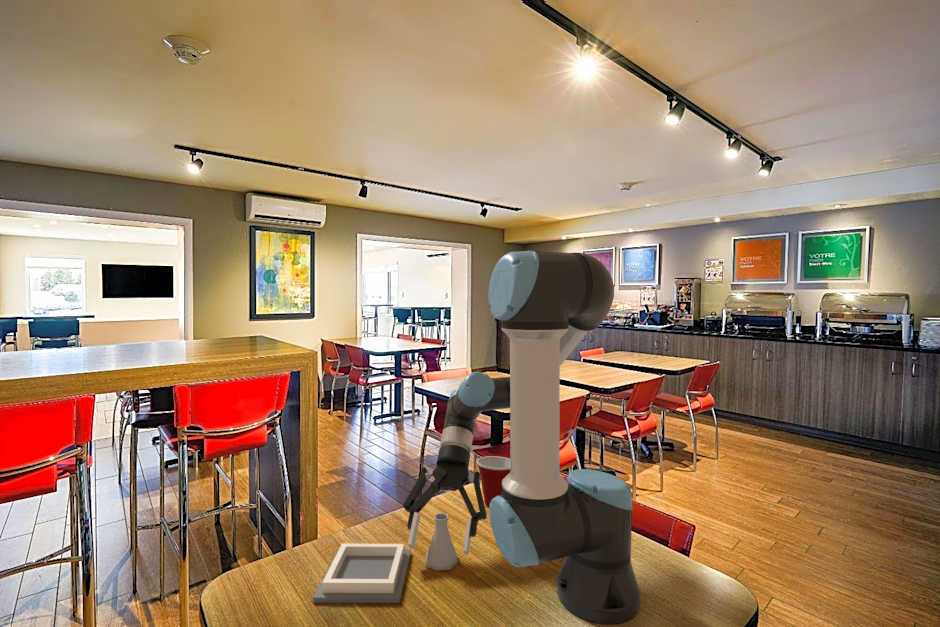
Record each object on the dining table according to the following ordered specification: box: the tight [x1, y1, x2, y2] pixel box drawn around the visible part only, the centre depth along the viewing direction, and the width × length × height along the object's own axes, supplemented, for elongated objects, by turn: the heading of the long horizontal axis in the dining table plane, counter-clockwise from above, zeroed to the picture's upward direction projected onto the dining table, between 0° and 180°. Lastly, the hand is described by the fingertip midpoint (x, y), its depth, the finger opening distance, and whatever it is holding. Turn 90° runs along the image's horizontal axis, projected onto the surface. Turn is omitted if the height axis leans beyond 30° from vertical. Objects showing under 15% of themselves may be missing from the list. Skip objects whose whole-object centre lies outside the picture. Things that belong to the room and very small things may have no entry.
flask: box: [424, 512, 459, 571], centre depth 100 cm, size 7×7×10 cm
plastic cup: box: [476, 455, 510, 508], centre depth 126 cm, size 11×11×12 cm
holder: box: [312, 542, 412, 604], centre depth 95 cm, size 16×16×3 cm
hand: (437, 549), depth 97 cm, fingers open, 11 cm apart
